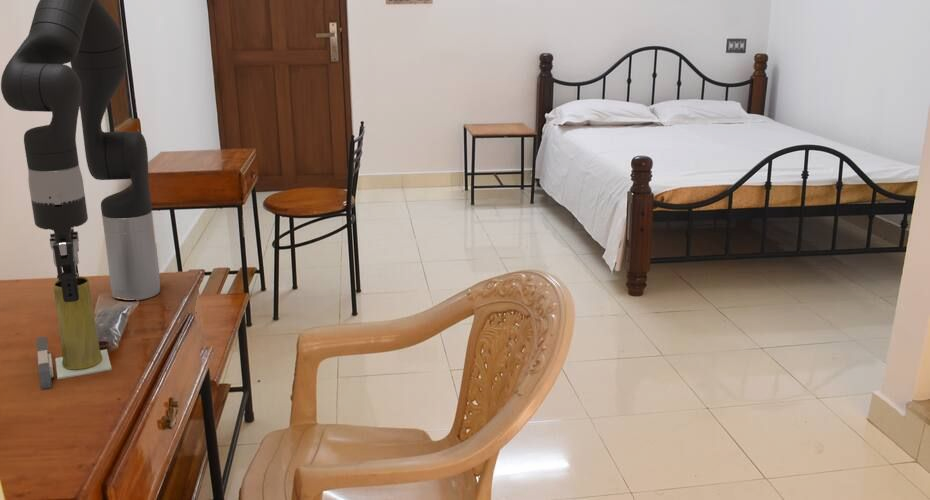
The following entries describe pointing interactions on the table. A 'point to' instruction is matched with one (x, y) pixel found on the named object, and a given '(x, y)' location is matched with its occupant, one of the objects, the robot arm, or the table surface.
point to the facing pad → (68, 373)
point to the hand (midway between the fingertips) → (72, 291)
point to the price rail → (44, 363)
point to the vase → (77, 328)
